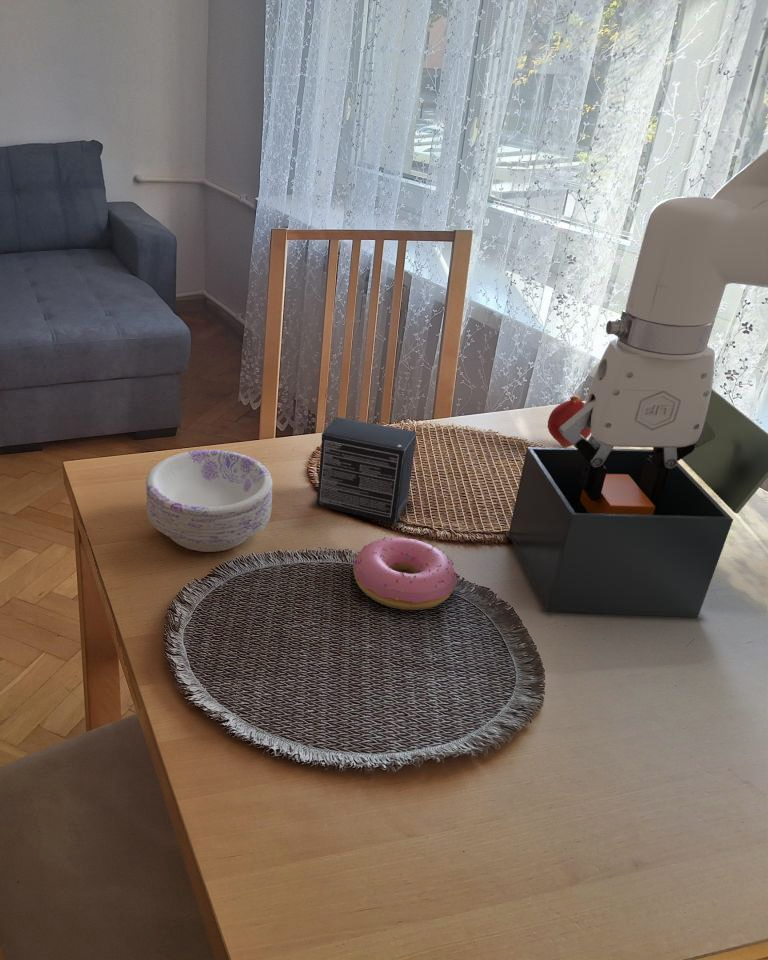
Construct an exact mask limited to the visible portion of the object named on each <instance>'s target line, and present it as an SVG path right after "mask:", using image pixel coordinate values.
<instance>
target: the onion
mask: <svg viewBox="0 0 768 960" xmlns="http://www.w3.org/2000/svg"><path fill="white" fill-rule="evenodd" d="M569 398H570V400H567V401H566V400H565V401H563V402H561V403H559V404H558V405H557V406H556V407H554V409H553V410H552V411H551V412H550V414H549V417H548V420H547V429H548V432H549V434H550V435H551V437H552V438H553V439H554V440H555V441H556V442H557V443H558V444H559V445H560V447H561V448H571V447H572V446H573V445H572V444H571V443H570V442H569V441H567V440H566V439H565V438H564V437H563V436H562V434H561V433H560V432H559V428H560V427H561V426H562V425H563V424H564V423H565V422H566V421H568V420H569V419H570V418H571V417H572V416H574V415H575V414H576V413H577V412H578V411H580V410H581V409H582V408H583V407H584V405H585V402H583V400H582V399H581V397H580V396H578V395H573V396H571V397H569ZM580 434H581V435H582V436H584V437H585V439H586V440H587V438H589V437H590V436H591V429H589V428H587V427H585V428H584V429H583V430H582V431H581V432H580Z"/></svg>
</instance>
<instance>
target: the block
mask: <svg viewBox="0 0 768 960" xmlns="http://www.w3.org/2000/svg"><path fill="white" fill-rule="evenodd" d="M580 502H581V503H582V504H583V506H584V507H585V509H586V510H587V512H588V513H593V514H633V515H653V513H654V510H655V506H654V504H653V503H652V502H651V501H650V500H649V499H648V497H647V496H646V495H645V494H644V493H643V491H642V490H641V489H640V488H639V487H638V485H637V484H636V483H635V482H634V481H633V479H632V478H631V477H630V476H629V475H628V474H606V477H605V480H604V484H603V488H602V492H601V495H600V499H598V500H597V501H594V500H591V499H590V498H589V497H588V495H587V494H586V492H585V491H584V490H582V494H581V498H580Z"/></svg>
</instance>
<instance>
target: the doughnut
mask: <svg viewBox="0 0 768 960" xmlns="http://www.w3.org/2000/svg"><path fill="white" fill-rule="evenodd" d="M357 552H358V553H357V554H356V556H355V557H354V561H353V565H352V570H353V574H354V579H355V582H356V584H357V585H358V587H359V588H360V590H361V591H362V592H363V593H364V594H365V595H366V596H367V597H369V598H370V599H371V600H373V601H375V602H376V603H379V604H381V605H382V606H386V607H389V608H392V609H393V608H394V609H397V610H403V611H421V610H428V609H431V608H434V607H437V606H438V605H441V604H442V603H443V602H445V601H446V600H448V599H449V597H450V596H451V595H452V593H453V591H454V590H456V585H457V578H458V575H457V574H456V573H457V572H456V570H455V564H454V562H453V560H451V559H450V557H449V555H446V554H445V553H444V551H441V549H438V548H437V547H435V545H433V544H430V543H428V542H425V541H421V540H418V539H415V538H410V537H385V536H384V537H383V538H381V539H377V540H374V541H372V542H370V543H368V544H365V545H363V547H362V549H361V550H360V551H357Z"/></svg>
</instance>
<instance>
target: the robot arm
mask: <svg viewBox="0 0 768 960" xmlns="http://www.w3.org/2000/svg"><path fill="white" fill-rule="evenodd" d="M648 216H649V217H648V219H647V222H646V226H645V230H644V233H643V239H642V241H641V246H640V249H639V253H638V258H637V261H636V265H635V269H634V273H633V277H632V280H631V284H630V289H629V293H628V296H627V301H626V304H625V308H624V310H622V311H621V315H620V318H617V319H616V320H608V321H607V322H606V325H605V332H606V334H607V335H613V336H615V337H617V338H612V339H610V340H609V341H610V342H609V343H608V345H607V346H606V348H605V350H604V352H603V354H602V356H601V359H600V360H599V362H598V365H597V367H596V370H595V372H594V374H593V377H592V380H591V383H590V386H589V389H588V391H587V395H586V398H585V402H584V403H585V405H584V407H583V408H582V409H581V410H580V411H578V412H577V413H576V414H575V415H574V416H572V417H571V418H570V419H569V420H568V421H566V422H565V423H564V424H563V425H562V426H561V427H560V428H559V432H560V433H561V434H562V436H563V437H564V438H565V439H566V440H567V441H569V442H570V443H571V444H572V446H573V447H574V448H577V449H578V450H579V451H580V453H581V454H582V455H583V456H584V457H585V458H586V459H585V463H584V467H583V470H582V474H581V478H580V486H581V487H582V489H583V490H584V491H585V492H586V494H587V495H588V497H589V498H590V499H591V500H594V501H597V500H598V499H600V495H601V492H602V488H603V484H604V480H605V477H606V473H607V468H606V467H605V465H604V461H605V460H606V458H607V457H608V455H609V454H610V452H611V450H612V449H614V448H615V447H616V448H617V447H619V448H620V447H623V448H652V450H653V453H654V454H653V455H652V456H650V455H648V458H646V460H645V463H644V467H643V470H642V474H641V477H640V480H639V484H638V487H639V488H640V489H641V490H642V491H643V493H644V494H645V495H646V496H647V497H648V499H649V500H650V501H651V502H656V501H657V499H658V496H659V493H660V491H662V490H663V488H664V485H665V482H666V478H667V475H668V472H669V469H672V468H674V467H675V466H676V465H677V463H679V461H681V460H682V458H683V457H685V456H687V455H688V454H690V453H691V452H692V451H693V450H694V449H695V448H696V447H697V448H698V447H699V446H701V445H703V444H705V443H707V442H709V441H710V440H712V439H713V438H714V437H715V433H714V432H713V430H712V429H711V427H710V425H709V424H708V422H707V421H706V419H705V418H706V414H707V410H708V405H709V401H710V396H711V390H712V389H713V383H714V372H715V362H716V361H715V359H716V357H715V356H716V352H715V350H714V349H713V348H712V347H710V346H708V344H709V341H710V338H711V334H712V331H713V328H714V324H715V321H716V318H717V315H718V312H719V309H720V306H721V302H722V299H723V296H724V293H725V291H726V286H727V285H729V284H735V285H745V286H751V287H752V286H753V287H759V288H766V289H768V148H767V149H766V150H764V151H763V152H762V153H761V154H759V155H758V156H757V157H756V158H754V159H753V160H752V161H750V163H748V164H747V165H746V166H745V167H743V168H742V169H741V170H740V171H739V172H737V173H736V174H735V175H733V176H732V177H731V178H730V179H729V180H728V181H727V182H726V183H725V184H723V186H721V188H719V189H718V190H717V191H716V192H715V193H714V194H713V195H712V197H703V196H701V197H700V196H680V197H679V196H678V197H677V196H676V197H671V198H667V199H663V200H662V201H660V202H658V203H657V204H656V205H655V206H654V207H653V208H652V210H651V211H650V213H649V215H648ZM585 427H587V428H589V429H591V433H590V435H589V437H588V439H587V438H586V439H585V437H584V436H582V435H581V434H580V432H581V431H582V430H583V429H584V428H585Z"/></svg>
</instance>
